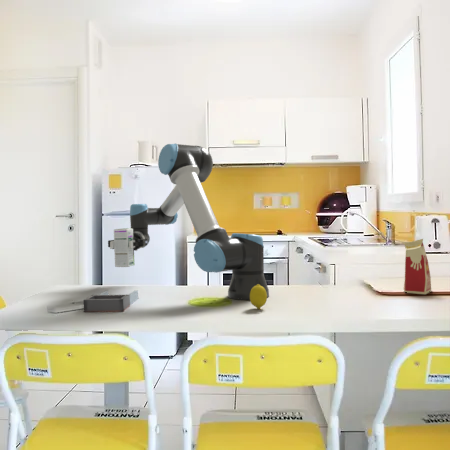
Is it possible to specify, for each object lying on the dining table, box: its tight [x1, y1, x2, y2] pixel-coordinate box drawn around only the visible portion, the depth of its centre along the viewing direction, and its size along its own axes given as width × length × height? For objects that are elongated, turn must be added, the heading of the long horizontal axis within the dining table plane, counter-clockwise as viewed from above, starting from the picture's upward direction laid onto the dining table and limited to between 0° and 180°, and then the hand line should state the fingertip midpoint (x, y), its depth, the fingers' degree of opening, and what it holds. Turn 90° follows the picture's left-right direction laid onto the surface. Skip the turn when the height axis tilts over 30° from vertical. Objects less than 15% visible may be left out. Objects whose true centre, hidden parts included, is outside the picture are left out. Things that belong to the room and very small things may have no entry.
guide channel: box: [98, 290, 139, 306], centre depth 175 cm, size 14×12×3 cm
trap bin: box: [83, 294, 131, 313], centre depth 163 cm, size 9×13×4 cm
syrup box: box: [113, 227, 135, 268], centre depth 188 cm, size 6×6×14 cm
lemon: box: [249, 284, 268, 310], centre depth 158 cm, size 6×6×8 cm
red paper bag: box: [402, 238, 432, 295], centre depth 184 cm, size 9×9×20 cm
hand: (120, 245), depth 183 cm, fingers closed on syrup box, 6 cm apart
